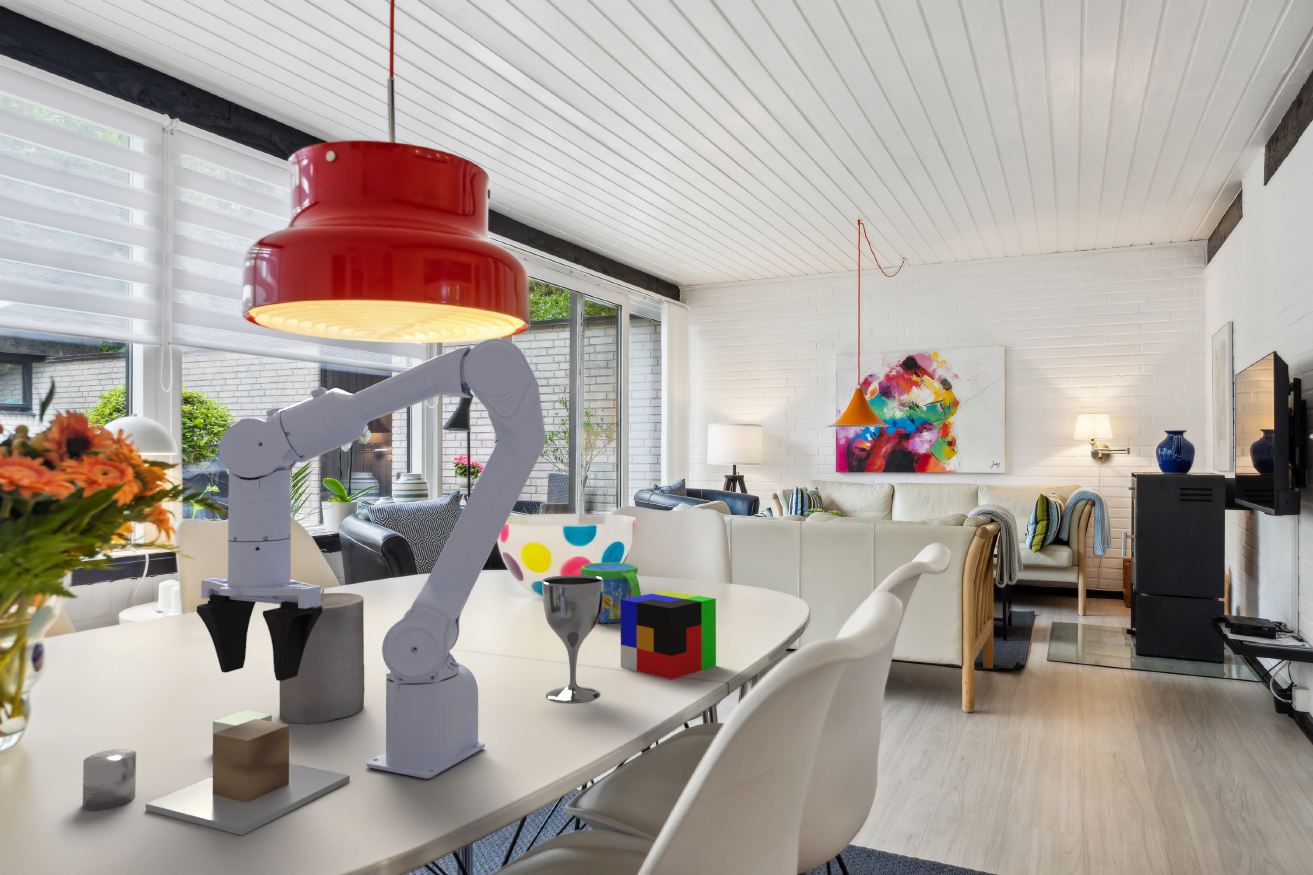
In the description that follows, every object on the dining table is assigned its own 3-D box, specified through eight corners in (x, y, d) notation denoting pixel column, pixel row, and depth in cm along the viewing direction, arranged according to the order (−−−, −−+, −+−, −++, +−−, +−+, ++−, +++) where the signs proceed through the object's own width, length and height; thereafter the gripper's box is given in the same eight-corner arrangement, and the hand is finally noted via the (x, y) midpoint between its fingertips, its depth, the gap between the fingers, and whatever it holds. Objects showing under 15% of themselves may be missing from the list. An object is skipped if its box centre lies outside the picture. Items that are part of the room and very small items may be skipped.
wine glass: (535, 690, 108) (535, 577, 109) (592, 683, 112) (591, 573, 112) (551, 707, 101) (551, 586, 101) (612, 699, 104) (611, 582, 105)
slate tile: (260, 762, 83) (259, 756, 83) (349, 781, 79) (349, 775, 79) (145, 810, 72) (145, 803, 72) (242, 835, 68) (242, 827, 68)
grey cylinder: (123, 787, 77) (124, 745, 77) (143, 798, 75) (144, 755, 75) (74, 802, 74) (75, 758, 74) (94, 814, 72) (95, 769, 72)
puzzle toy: (620, 667, 120) (620, 599, 120) (666, 654, 128) (665, 590, 128) (671, 679, 113) (670, 608, 114) (716, 666, 121) (715, 598, 121)
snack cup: (656, 623, 150) (656, 568, 151) (609, 630, 144) (609, 573, 144) (609, 610, 163) (609, 559, 163) (563, 616, 157) (563, 563, 157)
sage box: (245, 741, 90) (245, 709, 90) (271, 747, 88) (271, 714, 88) (212, 754, 86) (212, 721, 86) (239, 759, 84) (239, 726, 85)
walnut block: (255, 776, 78) (255, 718, 78) (288, 783, 76) (289, 725, 77) (212, 793, 74) (213, 733, 74) (247, 802, 72) (247, 740, 72)
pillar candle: (302, 698, 105) (301, 582, 105) (376, 698, 105) (376, 582, 105) (263, 725, 95) (262, 596, 95) (345, 725, 95) (344, 596, 95)
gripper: (173, 540, 82) (172, 676, 81) (279, 546, 76) (279, 692, 76) (235, 533, 88) (234, 659, 88) (337, 538, 82) (336, 673, 82)
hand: (259, 673), depth 82 cm, fingers open, 7 cm apart
